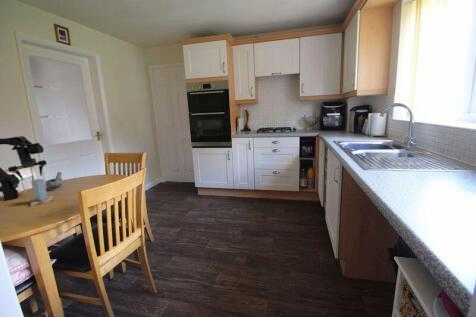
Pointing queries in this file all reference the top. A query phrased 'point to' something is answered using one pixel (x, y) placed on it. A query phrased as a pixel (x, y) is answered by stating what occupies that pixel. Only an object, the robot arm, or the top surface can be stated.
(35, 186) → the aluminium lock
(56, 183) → the mortar and pestle
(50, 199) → the walnut pad
